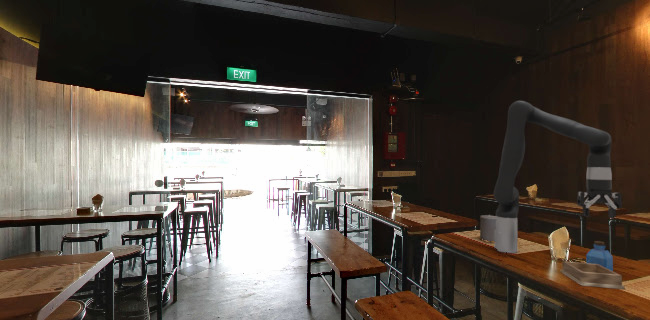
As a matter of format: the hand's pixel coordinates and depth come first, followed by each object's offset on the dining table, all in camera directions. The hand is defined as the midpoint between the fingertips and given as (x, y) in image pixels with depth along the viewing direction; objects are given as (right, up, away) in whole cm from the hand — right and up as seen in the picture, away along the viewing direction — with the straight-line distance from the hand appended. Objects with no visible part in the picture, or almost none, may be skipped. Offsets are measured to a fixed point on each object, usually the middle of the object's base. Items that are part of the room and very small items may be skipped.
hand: (599, 217), depth 117 cm
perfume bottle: (0, -22, 0) cm, 22 cm away
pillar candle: (-19, -23, +45) cm, 54 cm away
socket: (-13, -22, -10) cm, 27 cm away
